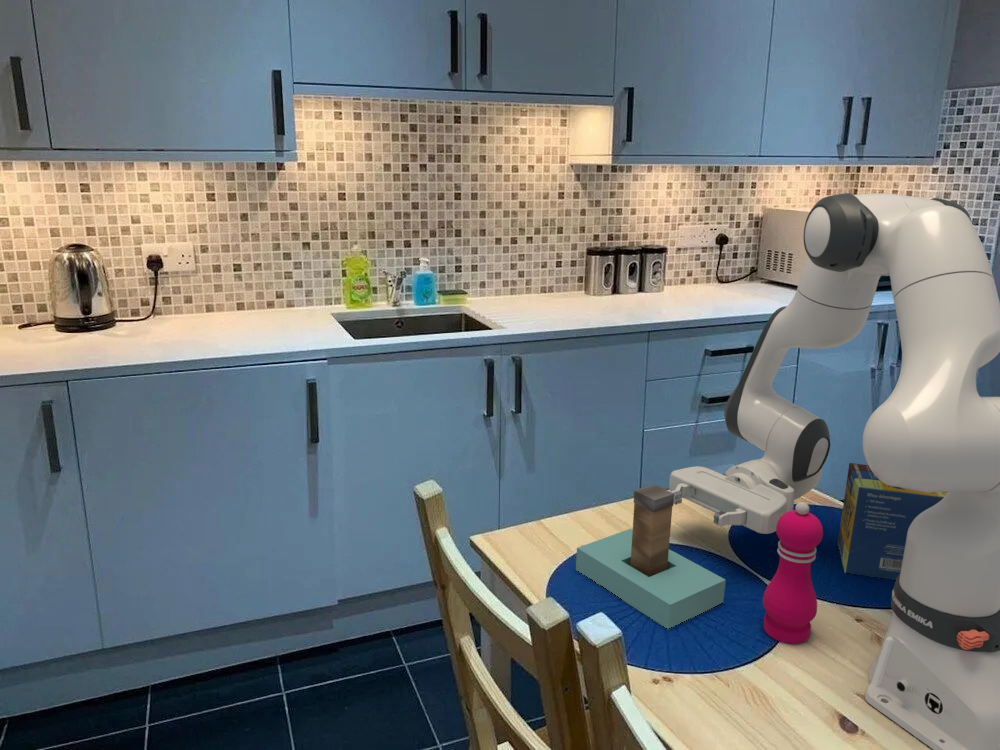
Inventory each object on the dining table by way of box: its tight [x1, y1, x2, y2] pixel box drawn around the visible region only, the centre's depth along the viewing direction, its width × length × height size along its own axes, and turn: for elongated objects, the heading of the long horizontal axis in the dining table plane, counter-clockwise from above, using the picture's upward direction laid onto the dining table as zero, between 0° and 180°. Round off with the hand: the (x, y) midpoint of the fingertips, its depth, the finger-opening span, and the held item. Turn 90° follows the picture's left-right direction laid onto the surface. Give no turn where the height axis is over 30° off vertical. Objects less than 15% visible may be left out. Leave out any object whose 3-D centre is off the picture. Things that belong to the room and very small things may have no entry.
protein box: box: [837, 462, 949, 581], centre depth 131 cm, size 10×15×16 cm
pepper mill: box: [762, 501, 824, 645], centre depth 111 cm, size 7×7×20 cm
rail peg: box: [630, 484, 675, 577], centre depth 123 cm, size 4×4×16 cm
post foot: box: [575, 528, 727, 630], centre depth 125 cm, size 20×12×4 cm, turn 36°
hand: (693, 509), depth 128 cm, fingers open, 8 cm apart
